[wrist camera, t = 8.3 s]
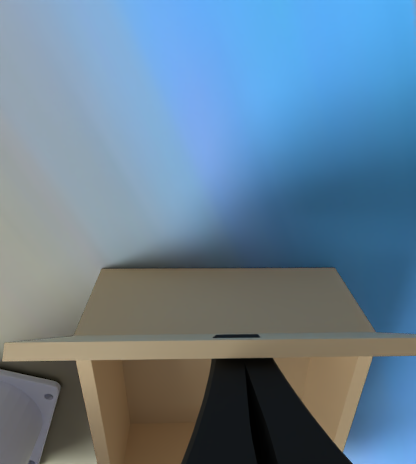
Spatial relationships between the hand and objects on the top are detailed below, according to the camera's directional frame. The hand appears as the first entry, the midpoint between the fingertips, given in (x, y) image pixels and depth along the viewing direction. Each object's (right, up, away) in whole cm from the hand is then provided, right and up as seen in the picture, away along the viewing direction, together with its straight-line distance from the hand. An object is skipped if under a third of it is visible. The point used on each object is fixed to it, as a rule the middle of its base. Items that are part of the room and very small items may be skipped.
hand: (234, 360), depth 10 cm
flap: (0, 0, +1) cm, 1 cm away
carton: (0, -4, +11) cm, 11 cm away
